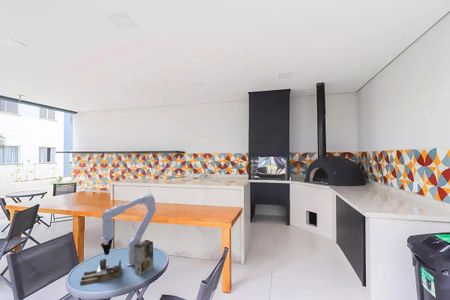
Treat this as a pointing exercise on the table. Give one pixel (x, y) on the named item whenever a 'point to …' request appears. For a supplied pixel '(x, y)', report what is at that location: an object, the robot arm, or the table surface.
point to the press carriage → (102, 267)
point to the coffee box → (143, 257)
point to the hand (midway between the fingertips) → (107, 251)
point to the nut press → (92, 277)
